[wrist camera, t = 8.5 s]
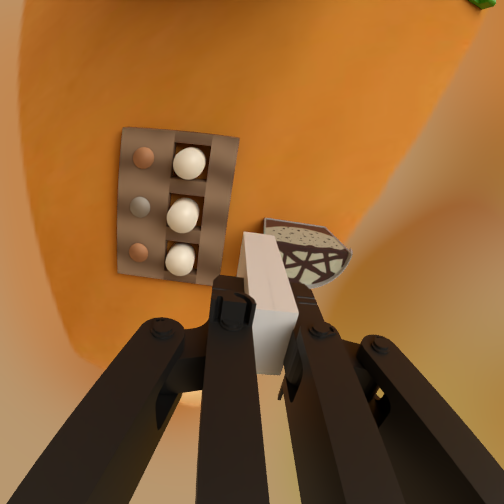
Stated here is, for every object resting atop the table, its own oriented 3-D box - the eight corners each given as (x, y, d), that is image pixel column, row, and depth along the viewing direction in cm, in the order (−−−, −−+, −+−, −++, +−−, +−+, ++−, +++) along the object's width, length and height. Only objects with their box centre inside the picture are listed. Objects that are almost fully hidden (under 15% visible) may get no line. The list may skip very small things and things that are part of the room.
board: (127, 126, 40) (122, 127, 38) (239, 137, 42) (239, 138, 40) (121, 267, 49) (117, 273, 47) (219, 280, 50) (218, 287, 48)
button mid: (172, 195, 43) (167, 202, 40) (200, 199, 43) (198, 205, 40) (170, 223, 44) (165, 231, 41) (197, 226, 45) (195, 234, 42)
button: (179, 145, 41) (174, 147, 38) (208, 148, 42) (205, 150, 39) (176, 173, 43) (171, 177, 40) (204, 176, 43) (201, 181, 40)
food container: (247, 254, 49) (251, 287, 40) (254, 216, 47) (259, 241, 37) (324, 264, 50) (343, 296, 41) (334, 228, 48) (356, 254, 39)
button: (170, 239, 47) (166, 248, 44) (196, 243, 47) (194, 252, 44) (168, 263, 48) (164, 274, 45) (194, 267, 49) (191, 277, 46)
